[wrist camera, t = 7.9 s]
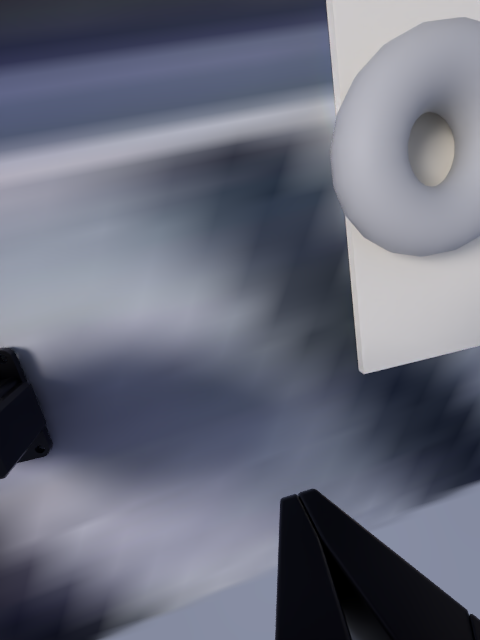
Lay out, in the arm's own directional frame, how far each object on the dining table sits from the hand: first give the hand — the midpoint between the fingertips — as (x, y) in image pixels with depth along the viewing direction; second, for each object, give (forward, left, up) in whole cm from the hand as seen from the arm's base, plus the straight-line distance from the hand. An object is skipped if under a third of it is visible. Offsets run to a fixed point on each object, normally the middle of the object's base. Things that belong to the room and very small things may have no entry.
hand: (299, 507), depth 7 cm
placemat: (+11, +7, -12) cm, 18 cm away
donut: (+6, +7, -9) cm, 13 cm away
